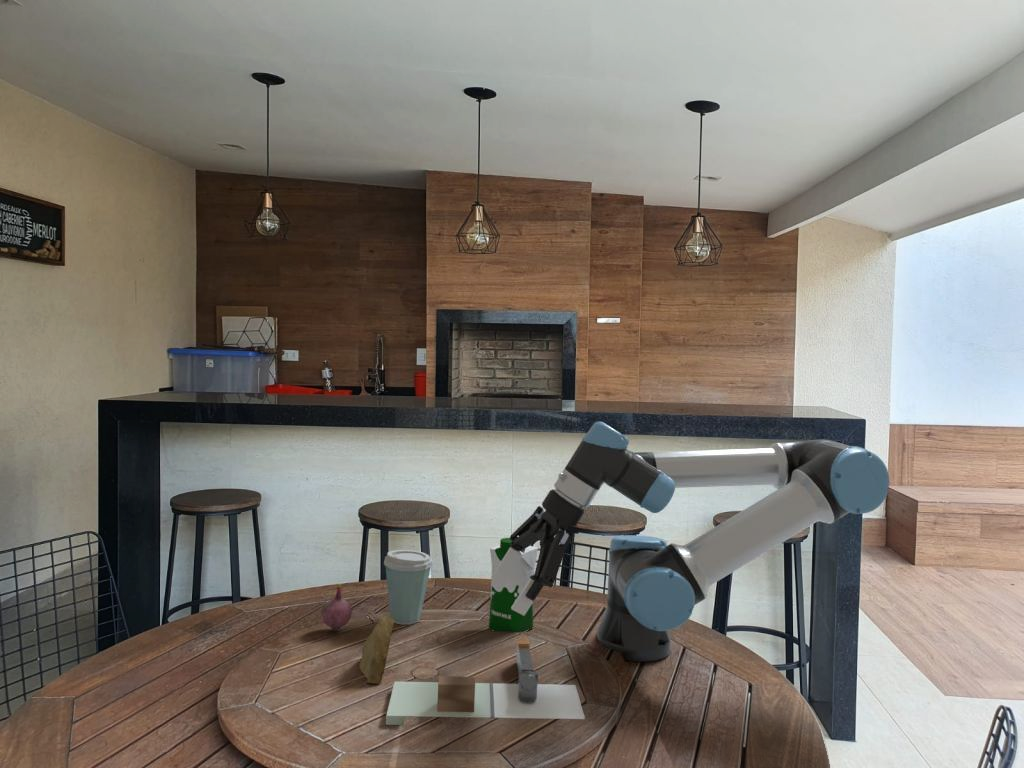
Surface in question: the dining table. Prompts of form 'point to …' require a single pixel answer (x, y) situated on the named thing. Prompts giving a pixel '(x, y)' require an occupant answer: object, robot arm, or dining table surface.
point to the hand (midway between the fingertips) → (507, 594)
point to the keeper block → (456, 694)
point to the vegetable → (336, 611)
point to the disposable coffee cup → (406, 584)
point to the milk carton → (510, 590)
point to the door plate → (485, 702)
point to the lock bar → (526, 672)
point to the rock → (376, 650)
